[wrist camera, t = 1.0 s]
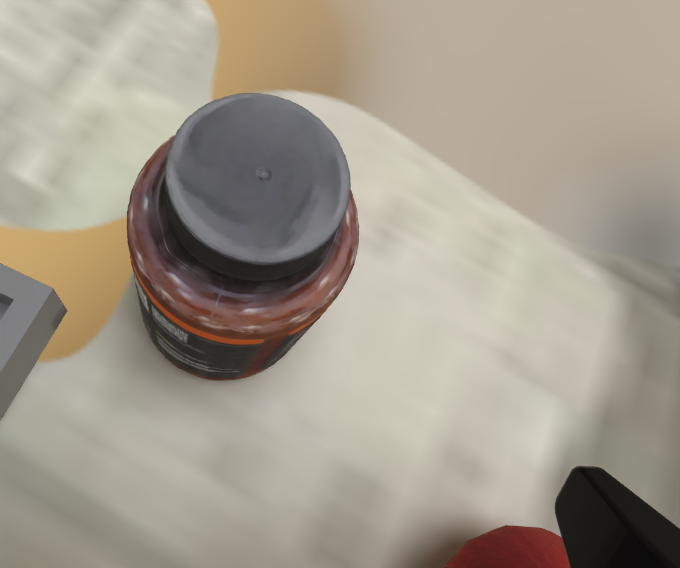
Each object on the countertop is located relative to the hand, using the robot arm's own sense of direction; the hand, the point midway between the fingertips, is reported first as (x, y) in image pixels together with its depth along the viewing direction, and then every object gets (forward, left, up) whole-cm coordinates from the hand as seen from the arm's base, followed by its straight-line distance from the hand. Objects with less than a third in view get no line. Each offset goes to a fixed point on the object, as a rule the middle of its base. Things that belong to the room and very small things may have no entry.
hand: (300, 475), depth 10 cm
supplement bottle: (+5, +3, -14) cm, 15 cm away
